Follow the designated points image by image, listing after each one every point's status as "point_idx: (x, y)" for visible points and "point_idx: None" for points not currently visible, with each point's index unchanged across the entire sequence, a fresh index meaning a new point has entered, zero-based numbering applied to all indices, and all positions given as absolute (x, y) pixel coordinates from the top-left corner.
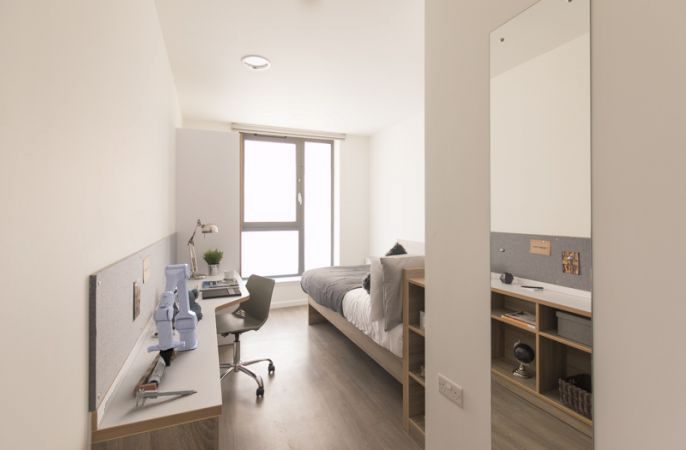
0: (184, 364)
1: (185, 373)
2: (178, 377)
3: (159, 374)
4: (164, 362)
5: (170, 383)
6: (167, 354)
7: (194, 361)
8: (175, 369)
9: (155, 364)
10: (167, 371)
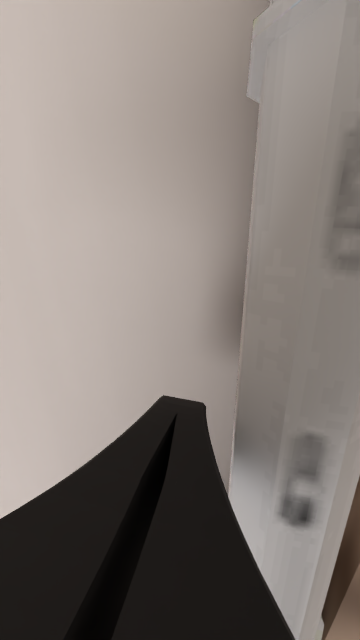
0: (78, 451)
1: (18, 253)
2: (67, 183)
3: (284, 101)
4: (234, 501)
5: (127, 34)
6: (7, 631)
7: (9, 458)
8: (139, 397)
9: (354, 559)
10: (211, 396)
